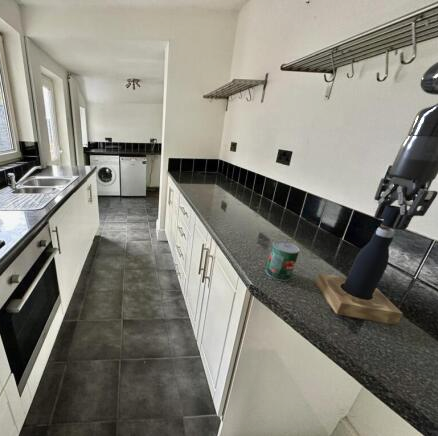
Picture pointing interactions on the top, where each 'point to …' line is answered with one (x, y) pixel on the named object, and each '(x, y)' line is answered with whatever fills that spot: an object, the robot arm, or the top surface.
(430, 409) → the top surface
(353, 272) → the dark blue water bottle
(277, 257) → the canned tomato
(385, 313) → the hole plate
